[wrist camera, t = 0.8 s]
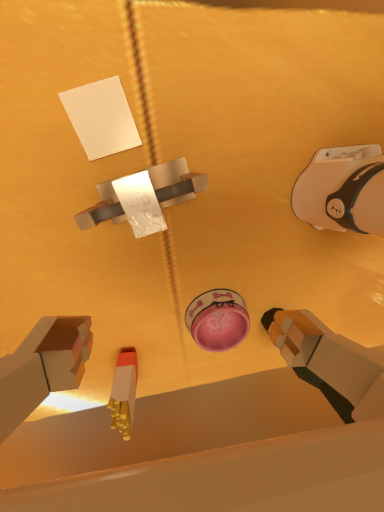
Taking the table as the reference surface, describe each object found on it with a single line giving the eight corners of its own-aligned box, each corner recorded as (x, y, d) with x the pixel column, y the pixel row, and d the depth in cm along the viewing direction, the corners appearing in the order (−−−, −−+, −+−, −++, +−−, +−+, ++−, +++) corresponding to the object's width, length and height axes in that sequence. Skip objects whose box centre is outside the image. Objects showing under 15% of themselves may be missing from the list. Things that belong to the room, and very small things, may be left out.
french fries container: (123, 371, 59) (109, 448, 42) (118, 346, 54) (102, 420, 38) (138, 369, 59) (131, 444, 43) (135, 344, 55) (126, 416, 39)
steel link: (150, 170, 31) (146, 170, 20) (164, 210, 34) (167, 228, 23) (127, 178, 31) (111, 181, 20) (143, 217, 34) (136, 238, 23)
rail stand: (184, 156, 37) (200, 148, 23) (195, 197, 41) (214, 210, 27) (96, 184, 37) (59, 193, 23) (115, 223, 40) (92, 250, 26)
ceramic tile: (118, 77, 31) (118, 75, 30) (142, 145, 35) (142, 144, 35) (60, 95, 31) (57, 93, 30) (91, 161, 35) (89, 161, 34)
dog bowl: (182, 339, 58) (185, 360, 52) (187, 288, 50) (191, 304, 44) (238, 336, 61) (248, 354, 55) (251, 287, 54) (263, 302, 48)
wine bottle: (286, 304, 59) (396, 418, 32) (284, 324, 62) (381, 442, 35) (260, 310, 58) (351, 432, 31) (260, 330, 61) (341, 455, 34)
